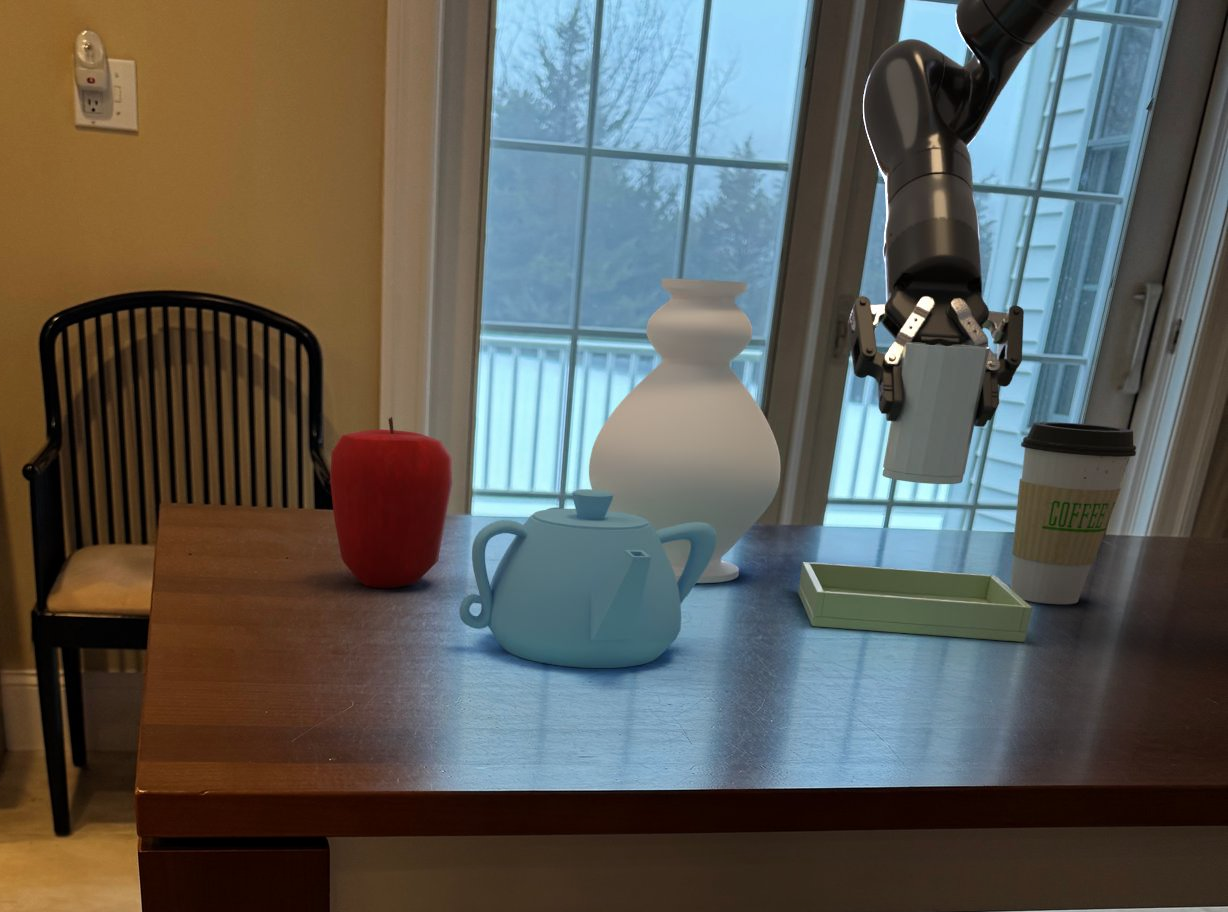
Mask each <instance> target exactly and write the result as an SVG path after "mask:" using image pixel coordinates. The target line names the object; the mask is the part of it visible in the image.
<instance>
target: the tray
mask: <svg viewBox="0 0 1228 912" xmlns="http://www.w3.org/2000/svg"><path fill="white" fill-rule="evenodd" d="M797 594H798V596H799V599H800V601H801V603H802V606H803V608H804V610H805V613H806V614H807V617H808V620H809V621H810V624H811V626H812V627H818V628H819V627H820V628H821V627H822V628H832V629H833V628H834V629H847V630H858V631H859V630H860V631H870V632H871V631H872V632H883V633H884V632H886V633H899V634H912V635H926V636H939V637H941V636H942V637H952V638H966V639H977V640H979V639H980V640H992V641H1005V642H1017V643H1018V642H1019V643H1024V642H1025V641H1026V638H1027V632H1028V628H1029V624H1030V621H1031V615H1032V611H1033V607H1032V606H1031V605H1030V604H1029V603H1028V602H1027V601H1026V600H1023V599H1022V598H1021V597H1020V596H1018V595H1017V594H1016V593H1015V592H1014V591H1013V590H1012V589H1010V586H1008V584H1006V583H1005V582H1003V581H1002V579H1000V578H999V577H998V576H997V575H992V574H981V573H980V574H978V573H966V572H951V571H939V570H938V571H936V570H925V569H924V570H922V569H909V568H894V567H881V566H867V565H854V564H841V563H840V564H838V563H826V562H809V561H803V562H802V564H801V571H800V576H799V584H798V591H797Z"/></svg>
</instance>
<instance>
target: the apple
mask: <svg viewBox="0 0 1228 912" xmlns="http://www.w3.org/2000/svg"><path fill="white" fill-rule="evenodd" d="M387 420H388V425H389V426H388V427H389V429H367V430H359V431H355V432H350V433H346V434H343V435H341V436H340V438H339V439H338V441H337V443H336V445H335V446H334V447H333V449H332V451H331V460H330V475H329V481H330V491H331V501H332V509H333V510H332V511H333V520H334V523H335V524H334V525H335V531H336V535H337V540H338V546H339V552H340V557H341V560H342V562H343V563H344V565H345V566H346V567H347V568H348V570H349V571H350V572H351V573H352V575H353V576H354V577H355V579H356V580H357V582H358V583H360V584H361V585H364V586H367V587H371V588H376V589H390V588H391V589H392V588H400V587H406V586H412V585H414V584H416V583H418V582H419V581H420V580H421V579H422V578H423V577H424V576H425V575H426V574H427V573H428V572H429V571H430V570H431V569H432V568H433V567H434V566H435V565H436V564H437V563H438V562H439V557H440V552H441V544H442V540H443V534H444V531H445V530H444V529H445V523H446V518H447V514H448V513H447V512H448V507H449V503H450V498H451V492H452V487H453V465H452V459H453V458H452V456H451V455H450V452H449V451H448V450H447V449H446V447H445V446H444V444H443V443H442V441H441V440H439V439H436V438H433V437H431V436H428V435H425V434H423V433H418V432H414V431H406V430H396V429H394V422H393V416H391V417H389V418H388V419H387Z"/></svg>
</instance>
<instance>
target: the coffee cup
mask: <svg viewBox="0 0 1228 912" xmlns="http://www.w3.org/2000/svg"><path fill="white" fill-rule="evenodd" d="M1020 446H1021V448H1024V451H1023V462H1022V471H1021V472H1022V473H1021V474H1022V475H1021V478H1020V479H1019V481H1018V482H1019V483H1018V493H1017V494H1018V495H1017V502H1016V512H1015V522H1014V533H1013V543H1012V551H1011V552H1012V553H1011V554H1012V565H1011V576H1010V585H1009V588H1010V589H1012V590H1013V591H1014V592H1015V593H1016V594H1017V595H1018V596H1020V597H1021V598H1022V599H1023V600H1024V601H1026V602H1033V603H1038V604H1039V603H1040V604H1047V605H1073V604H1077V603H1079V600H1080V597H1081V594H1082V592H1083V589H1084V586H1085V583H1086V581H1087V578H1088V575H1089V572H1090V570H1091V567H1092V564H1094V563H1095V560H1096V558H1097V554H1098V552H1099V549H1100V547H1101V544H1102V541H1103V538H1104V535H1105V533H1106V531H1107V527H1108V525H1109V522H1110V519H1111V516H1112V514H1113V511H1114V508H1115V506H1116V503H1117V500H1118V497H1119V495H1120V492H1121V489H1122V488H1121V487H1120V486H1121V483H1122V481H1123V478H1124V475H1125V472H1126V470H1127V467H1128V464H1129V461H1130V458H1131V457H1135V456H1136V455H1137V454H1136V453H1137V446H1136V445H1134V430H1132V429H1128V428H1123V427H1115V426H1109V425H1108V426H1107V425H1101V424H1100V425H1099V424H1087V423H1075V422H1058V421H1057V422H1055V421H1039V422H1033V423H1032V425H1031V427H1030V430H1029V432H1028V434H1027V436H1024V437H1023V439H1022V442H1021V443H1020Z"/></svg>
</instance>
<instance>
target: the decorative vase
mask: <svg viewBox="0 0 1228 912" xmlns="http://www.w3.org/2000/svg"><path fill="white" fill-rule="evenodd" d="M747 288H748V282H745V281H743V282H742V281H729V280H728V281H727V280H711V279H710V280H709V279H691V278H673V277H672V278H670V277H669V278H668V277H662V278H661V289H663V290H665V291H666V292H668V293H669V294H670V299H669V300H668V301H666V302H664V304H662V305H661V306H659V308H658V309H656V310H655V311H654V312H653V314H652V315H651V316H650V317H649V319H648V320H647V321H648V322H647V324H646V330H645V331H646V337H647V339H648V341H649V343H650V345H651V346H652V347H653V349H654V351H655V352H656V353H657V354H658V355H659V356H660V357H661V362H660V363H659V364H658V365H656V367H655V368H654V369H652V370H651V372H649V373H648V374H647V375H646V376H645V377H644V378H643V379H642V380H641V381H640V382H639V383H638V384H636V386H635V387H634V388H632V390H630V392H629V393H628V394H626V396H625V397H624V398H623V399H622V400H621V402H619V404H618V405H617V406H616V408H615V409H614V410H613V411H612V412H611V414H610V415H609V417H608V418H607V420H606V421H605V422H604V424H603V425H602V427H601V429H600V430H599V432H598V434H597V436H596V438H595V440H594V443H593V446H592V449H591V453H590V457H589V464H588V478H589V479H588V480H589V484H590V489H593V490H602V491H608V492H610V493H612V494H613V498H612V501H611V504H610V506H609V508H608V511H614V512H621V513H627V514H632V515H636V516H640V517H643V518H645V519H647V520H648V521H649V522H650V523H651V525H652V526H653V528H654V530H655V531H657V530H660V529H664V528H667V527H671V526H675V525H680V524H685V523H692V522H702V523H707V524H709V525H711V526H712V527H713V528H714V529H715V531H716V535H717V539H716V545H715V549H714V552H713V555H712V557H711V559H710V561H709V563H708V565H707V567H706V569H705V570H704V572H703V573H702V575H701V576H700V578H699V579H698V581H697V582H696V584H712V583H713V584H714V583H723V582H729V581H732V580H735V579H737V578H738V577H739V573H740V568H739V567H738V566H737V565H736V564H734V563H732V562H729V561H726V560H723V559H722V558H723V557H724V556H725V555H726V554H727V553H728V552H729V551H730V550H731V549H732V548H733V547H734V546H735V545H736V544H737V543H738V542H739V541H740V540H741V538H743V536H744V535H745V534H746V533H748V531H749V530H750V529H751V528H752V527H753V526H754V525H755V524H756V523H757V521H758V520H759V519H760V518H761V517H762V515H763V514H765V512H766V511H767V509H768V508H769V507H770V505H771V504H772V502H773V500H774V499H775V497H776V495H777V492H778V489H779V485H780V480H781V456H780V450H779V446H778V444H777V440H776V438H775V435H774V432H773V431H772V428H771V426H770V423H769V422H768V419H767V417H766V416H765V414H764V412H763V411H762V409H761V407H760V406H759V404H758V403H757V402H756V400H755V398H754V397H753V396H752V394H751V392H750V391H749V390H748V388H747V387H746V385H745V384H744V383H743V382H742V380H741V379H740V377H738V375H737V374H736V373H735V371H734V370H733V368H732V367H731V361H733V360H735V359H736V358H737V357H738V356H739V355H740V354H741V353H743V351H745V349H746V348H747V347H748V346H749V345H750V343H751V341H752V337H753V326H752V323H751V321H750V318H749V317H748V316H747V314H746V313H745V312H744V311H743V309H741V308H740V307H739V306H738V305H737V304H736V303H735V301H736V298H737V297H739V296H741V295H743V294H745V293H747ZM662 545H663V548H664V550H665V552H666V554H667V556H668V559H669V561H670V563H671V566H672V569H673V571H674V574H675V577H676V581H677V582H678V580H679V578H680V576H681V574H682V573H683V570H684V568H685V565H686V563H687V560H688V557H689V554H690V549H691V543H690V541H689V540H687V539H680V540H674V541H669V542H666V543H662Z"/></svg>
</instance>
